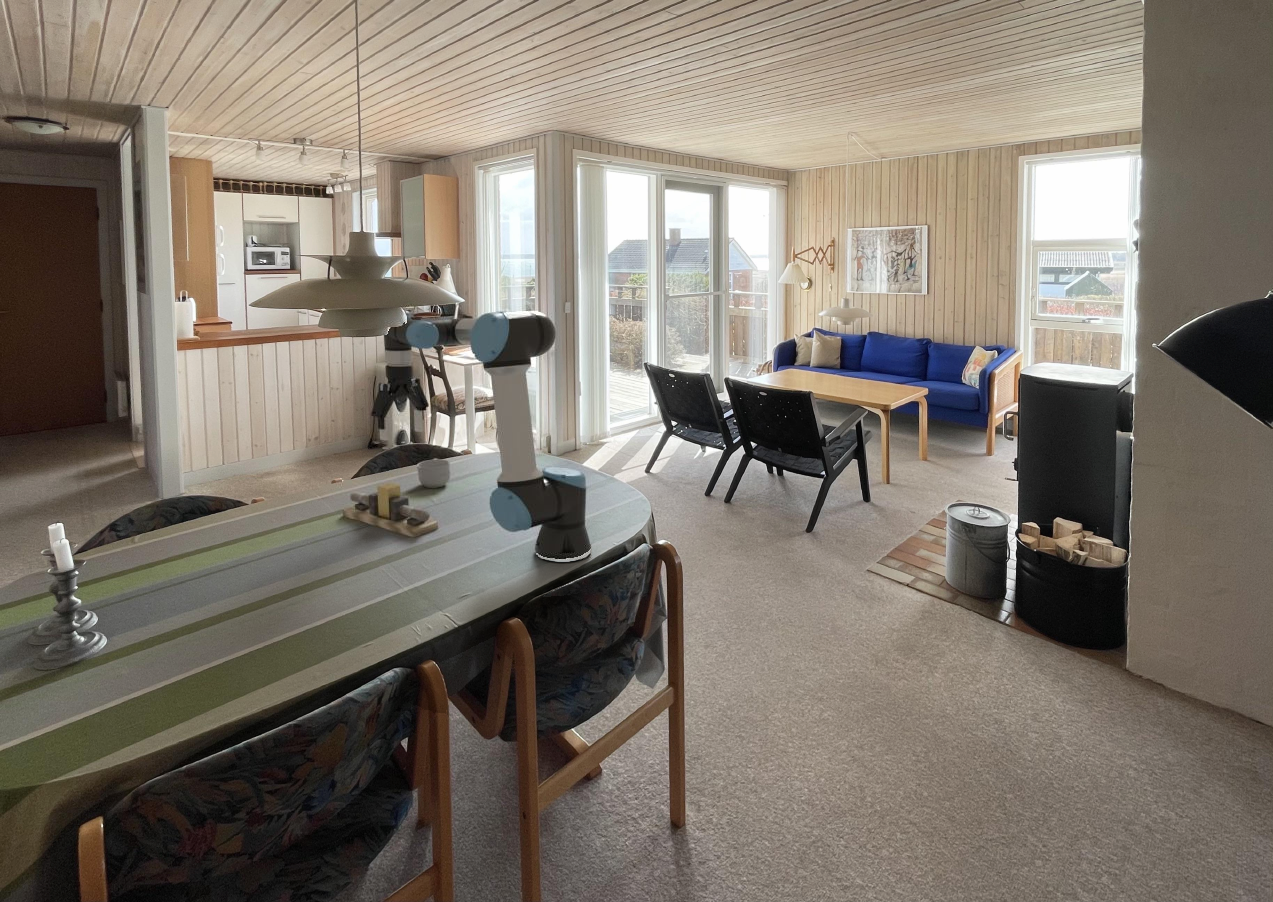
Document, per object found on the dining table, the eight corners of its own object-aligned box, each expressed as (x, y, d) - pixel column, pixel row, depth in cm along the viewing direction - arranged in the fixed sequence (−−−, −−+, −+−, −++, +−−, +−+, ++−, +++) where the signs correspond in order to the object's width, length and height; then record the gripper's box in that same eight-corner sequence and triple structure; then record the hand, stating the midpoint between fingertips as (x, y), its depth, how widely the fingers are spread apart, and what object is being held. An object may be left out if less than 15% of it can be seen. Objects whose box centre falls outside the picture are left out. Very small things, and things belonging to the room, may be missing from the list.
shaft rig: (437, 528, 218) (437, 502, 216) (414, 537, 210) (413, 510, 208) (367, 508, 233) (365, 483, 231) (342, 516, 225) (341, 490, 223)
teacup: (445, 490, 252) (445, 467, 250) (413, 489, 252) (412, 466, 250) (456, 478, 266) (455, 457, 264) (425, 477, 266) (424, 455, 264)
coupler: (402, 514, 221) (400, 485, 219) (390, 519, 218) (388, 489, 215) (390, 511, 224) (388, 482, 222) (378, 515, 220) (376, 486, 218)
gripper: (420, 359, 231) (423, 426, 236) (355, 367, 210) (359, 441, 215) (439, 361, 227) (441, 429, 233) (374, 370, 206) (378, 445, 211)
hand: (402, 435), depth 224 cm, fingers open, 13 cm apart
